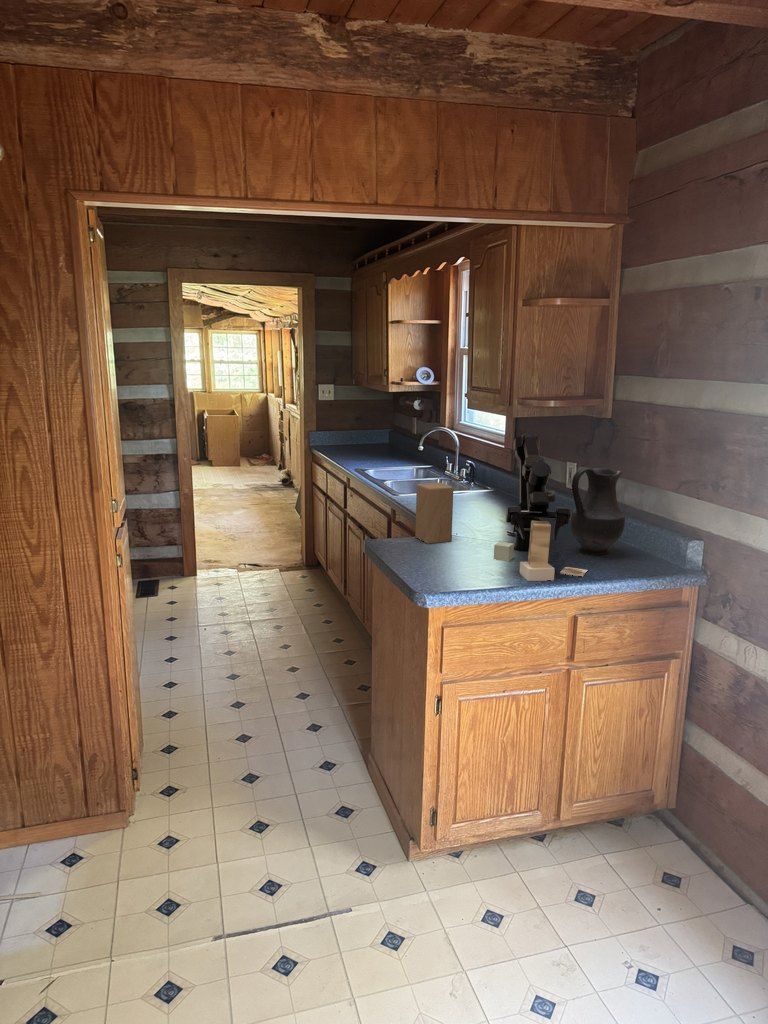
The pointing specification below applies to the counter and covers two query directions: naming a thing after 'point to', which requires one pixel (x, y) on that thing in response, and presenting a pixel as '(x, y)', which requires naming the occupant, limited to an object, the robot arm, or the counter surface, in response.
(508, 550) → the sage cube
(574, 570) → the tile
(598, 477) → the pitcher
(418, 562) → the counter surface
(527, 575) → the cream base block
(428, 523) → the wooden block
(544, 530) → the maple block
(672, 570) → the counter surface
